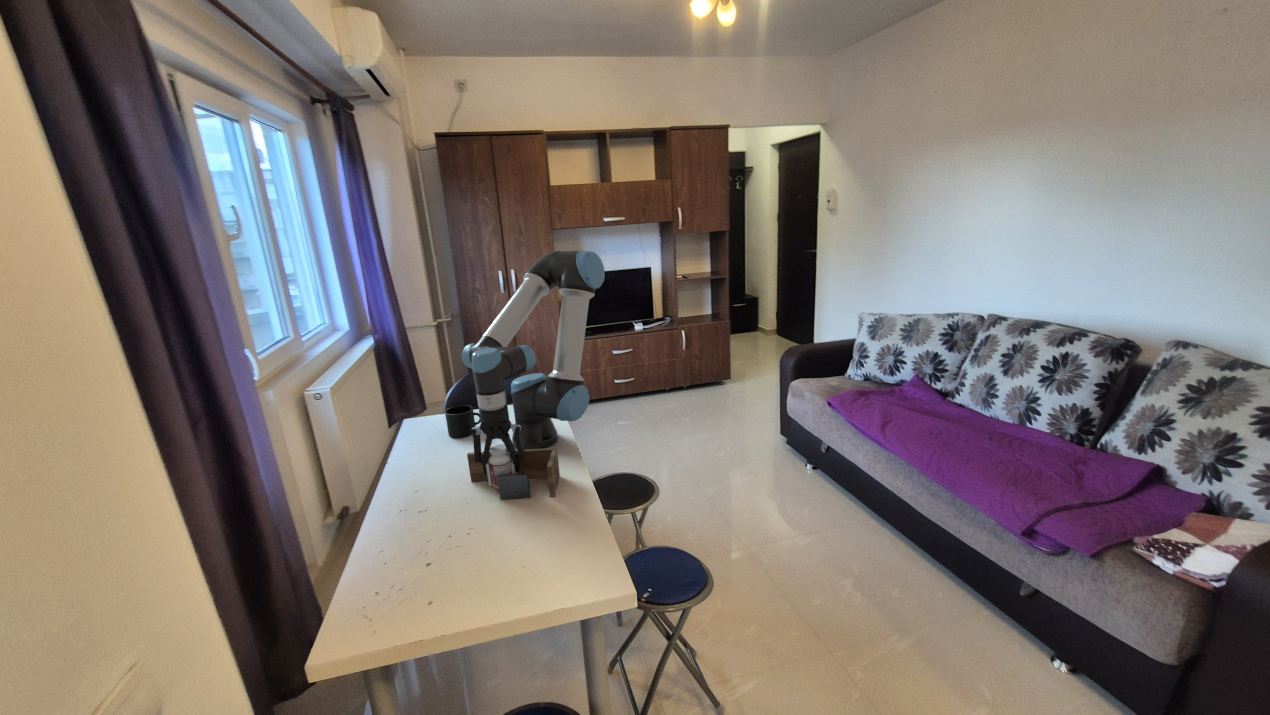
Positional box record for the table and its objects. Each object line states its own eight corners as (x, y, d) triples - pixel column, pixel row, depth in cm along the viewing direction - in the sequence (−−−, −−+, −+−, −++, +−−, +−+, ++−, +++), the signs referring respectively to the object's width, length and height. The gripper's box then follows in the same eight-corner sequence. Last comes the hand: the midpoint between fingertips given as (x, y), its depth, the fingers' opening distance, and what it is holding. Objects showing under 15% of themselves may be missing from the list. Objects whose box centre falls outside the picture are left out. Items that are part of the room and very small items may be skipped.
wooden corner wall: (472, 480, 152) (468, 452, 150) (560, 475, 152) (557, 447, 150) (460, 501, 141) (455, 471, 139) (554, 496, 141) (551, 466, 139)
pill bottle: (496, 478, 150) (491, 443, 147) (517, 477, 150) (512, 442, 146) (490, 489, 144) (484, 453, 141) (512, 488, 144) (507, 452, 140)
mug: (483, 434, 185) (480, 410, 182) (448, 440, 182) (444, 416, 179) (483, 425, 193) (479, 402, 191) (449, 430, 190) (445, 407, 188)
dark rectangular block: (501, 496, 143) (498, 473, 141) (530, 495, 142) (527, 472, 141) (500, 499, 141) (497, 476, 139) (529, 498, 141) (526, 475, 139)
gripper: (453, 413, 137) (465, 491, 143) (525, 409, 136) (535, 487, 143) (462, 402, 144) (474, 477, 150) (531, 399, 144) (540, 474, 150)
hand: (503, 482), depth 146 cm, fingers closed on pill bottle, 6 cm apart
